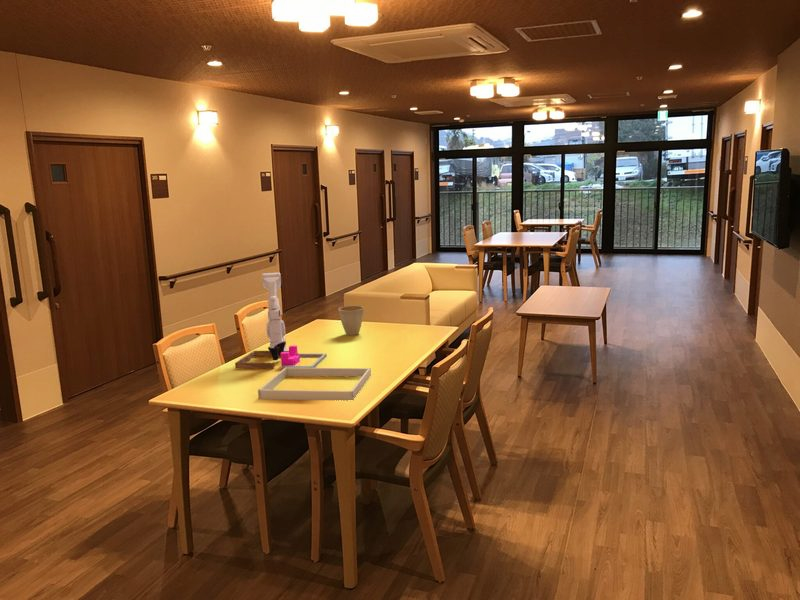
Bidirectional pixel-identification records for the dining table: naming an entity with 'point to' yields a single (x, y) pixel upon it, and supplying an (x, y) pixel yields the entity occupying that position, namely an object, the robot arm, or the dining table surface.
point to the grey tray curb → (268, 393)
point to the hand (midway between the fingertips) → (278, 357)
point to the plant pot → (351, 319)
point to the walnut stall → (244, 365)
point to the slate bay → (308, 356)
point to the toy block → (290, 357)
